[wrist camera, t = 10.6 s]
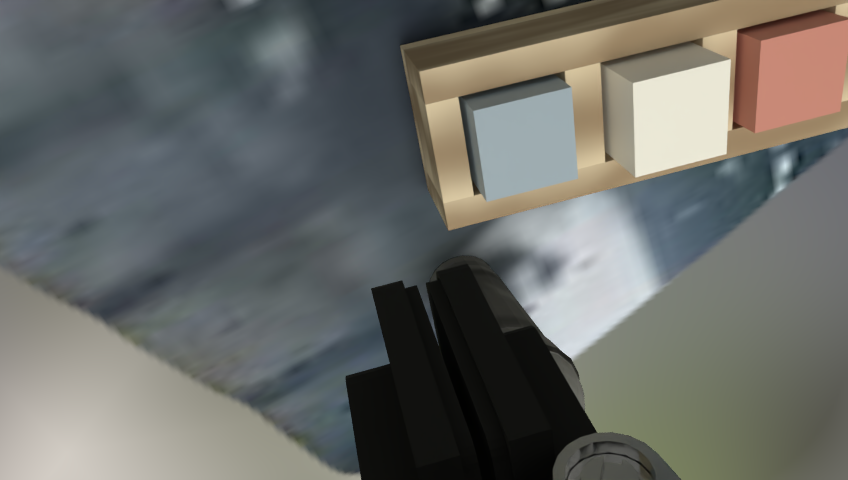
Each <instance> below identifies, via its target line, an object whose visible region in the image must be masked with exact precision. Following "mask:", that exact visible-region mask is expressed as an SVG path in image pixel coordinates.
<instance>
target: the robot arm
mask: <svg viewBox="0 0 848 480" xmlns="http://www.w3.org/2000/svg"><path fill="white" fill-rule="evenodd" d="M436 278H437V280H435V281H431V282H427V283H426V287H427V292H428V297H429V301H430V306H431V311H432V315H433V320H434V325H435V329H436V334H437V339H438V343H437V340H436V338H435V335H434V332H433V329H432V326H431V324H430V321H429V318H428V315H427V313H426V310H425V307H424V304H423V302H422V299H421V296H420V293H419V290H418V288H417V286H412V287H408V288H405V287H404V284H403V282H402V281H398V282H394V283H390V284H386V285H383V286H379V287H375V288H371V290H372V294H373V298H374V302H375V306H376V310H377V314H378V318H379V322H380V326H381V330H382V334H383V338H384V342H385V346H386V350H387V354H388V358H389V362H390V364H388V365H384V366H381V367H377V368H373V369H370V370H366V371H362V372H359V373H355V374H351V375H348V376H346V386H347V392H348V398H349V405H350V411H351V417H352V424H353V430H354V436H355V442H356V449H357V455H358V461H359V467H360V474H361V480H681V479H680V478H679V477H678V475H677V474H676V473H675V472H674V471H673V470H672V469H671V468H670V467H669V465H668V464H667V463H666V462H665V461H664V460H663V459H662V458H661V457H660V456H659V454H657V453H656V452H655V451H654V450H653V449H652V448H650V447H649V446H648V445H647V444H646V443H644V442H642V441H640V440H637V439H635V438H633V437H631V436H628V435H623V434H618V433H613V432H610V433H597V432H596V430H595V428H594V427H593V425H592V423H591V421H590V420H589V418H588V416H587V414H586V413H585V411H584V409H583V408H582V406H581V404H580V402H579V401H578V399H577V397H576V396H575V394H574V392H573V390H572V389H571V387H570V385H569V384H568V382H567V380H566V378H565V377H564V375H563V373H562V372H561V370H560V368H559V366H558V365H557V363H556V361H555V360H554V358H553V356H552V354H551V353H550V351H549V349H548V348H547V346H546V344H545V342H544V341H543V339H542V337H541V336H540V334H539V332H538V331H537V329H536V328H535V327H534V326H532V325H530V326H527V327H523V328H519V329H516V330H512V331H508V332H505V333H503V332H502V330H501V328H500V326H499V324H498V322H497V320H496V318H495V316H494V314H493V312H492V310H491V308H490V306H489V304H488V302H487V300H486V298H485V296H484V294H483V292H482V290H481V288H480V286H479V284H478V283H477V281H476V279H475V277H474V275H473V273H472V271H471V269H470V267H469V265H468V264H467V263H466V264H462V265H458V266H455V267H451V268H447V269H443V270H439V271H436ZM438 344H439V346H438ZM439 348H440V349H439Z"/></svg>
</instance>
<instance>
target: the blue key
mask: <svg viewBox="0 0 848 480" xmlns="http://www.w3.org/2000/svg"><path fill="white" fill-rule="evenodd" d="M458 98H459V104H460V111H461V117H462V123H463V130H464V136H465V142H466V149H467V155H468V161H469V168H470V174H471V179H472V180H473V182H474V183H475V185H476V186H477V188H478V189H479V191H480V193H481V194H482V196H483V197H484V199H485V200H486V202H489V201H493V200H496V199H500V198H504V197H508V196H512V195H516V194H520V193H524V192H528V191H532V190H535V189H539V188H543V187H547V186H551V185H555V184H559V183H563V182H567V181H571V180H575V179H578V169H577V155H576V141H575V127H574V113H573V100H572V87H571V86H569V85H568V84H567V83H565V82H564V81H563V80H561V79H560V78H559V77H557V76H556V75H555V74H551V75H547V76H543V77H539V78H534V79H530V80H526V81H522V82H518V83H514V84H510V85H505V86H501V87H497V88H493V89H489V90H485V91H481V92H476V93H472V94H468V95H464V96H460V97H458Z"/></svg>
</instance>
